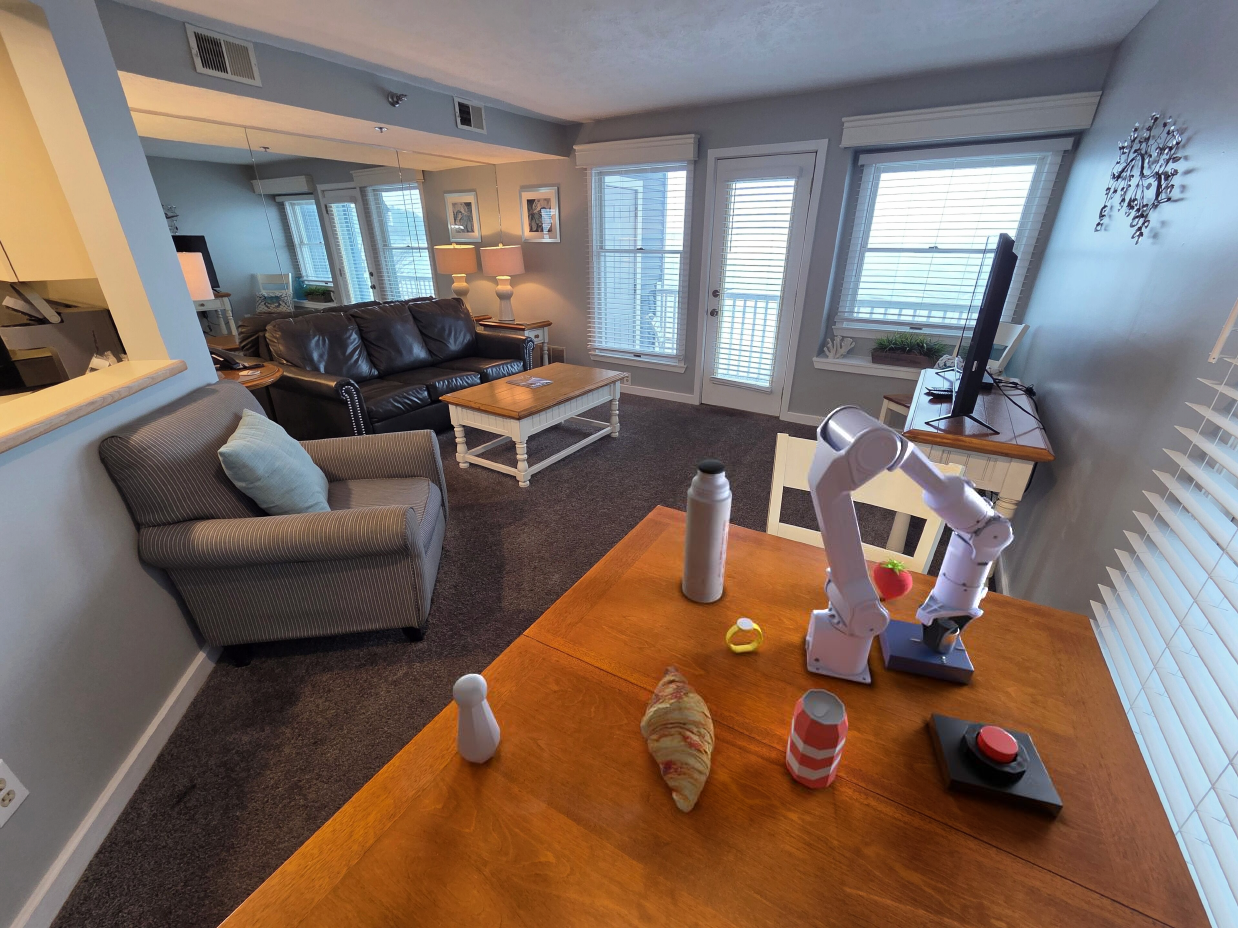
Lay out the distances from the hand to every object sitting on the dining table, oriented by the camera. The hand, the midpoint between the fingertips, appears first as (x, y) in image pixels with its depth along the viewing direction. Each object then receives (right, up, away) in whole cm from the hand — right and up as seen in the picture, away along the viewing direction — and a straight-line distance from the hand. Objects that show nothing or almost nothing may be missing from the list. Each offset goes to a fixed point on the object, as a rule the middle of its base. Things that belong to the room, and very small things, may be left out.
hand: (938, 641), depth 83 cm
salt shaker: (-73, -11, -13) cm, 74 cm away
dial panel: (-2, -3, +2) cm, 4 cm away
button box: (-3, -11, -15) cm, 19 cm away
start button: (-3, -8, -17) cm, 19 cm away
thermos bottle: (-36, +4, +18) cm, 41 cm away
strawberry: (-1, +3, +15) cm, 15 cm away
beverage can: (-27, -12, -15) cm, 34 cm away
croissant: (-45, -10, -12) cm, 48 cm away
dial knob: (0, -1, 0) cm, 1 cm away
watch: (-32, -3, +4) cm, 32 cm away
